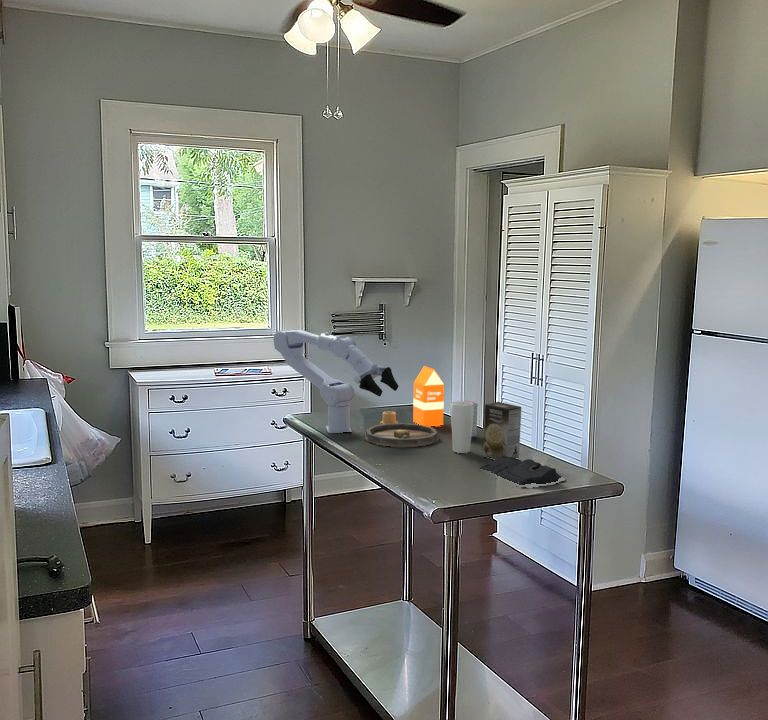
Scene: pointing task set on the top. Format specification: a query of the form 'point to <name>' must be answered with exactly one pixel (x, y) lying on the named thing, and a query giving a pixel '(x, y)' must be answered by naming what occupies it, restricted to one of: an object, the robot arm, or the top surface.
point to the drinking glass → (462, 425)
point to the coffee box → (502, 430)
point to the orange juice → (428, 398)
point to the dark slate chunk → (522, 471)
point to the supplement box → (474, 421)
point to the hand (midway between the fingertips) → (389, 391)
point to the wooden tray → (401, 435)
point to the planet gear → (389, 418)
